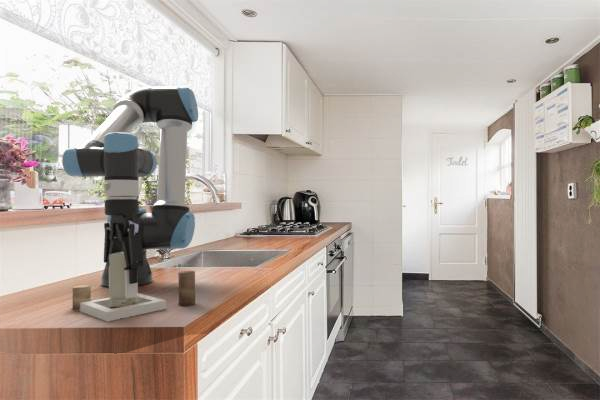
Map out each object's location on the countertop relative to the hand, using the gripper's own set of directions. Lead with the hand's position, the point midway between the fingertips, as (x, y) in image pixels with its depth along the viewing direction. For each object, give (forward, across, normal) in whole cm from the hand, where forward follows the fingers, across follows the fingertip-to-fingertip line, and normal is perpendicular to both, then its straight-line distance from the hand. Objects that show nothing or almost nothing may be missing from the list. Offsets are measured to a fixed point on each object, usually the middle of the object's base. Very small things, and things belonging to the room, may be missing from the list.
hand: (123, 294), depth 103 cm
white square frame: (+4, 0, 0) cm, 4 cm away
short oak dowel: (+4, -11, -5) cm, 13 cm away
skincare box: (+2, 0, 0) cm, 2 cm away
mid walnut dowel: (+4, +7, +13) cm, 15 cm away
